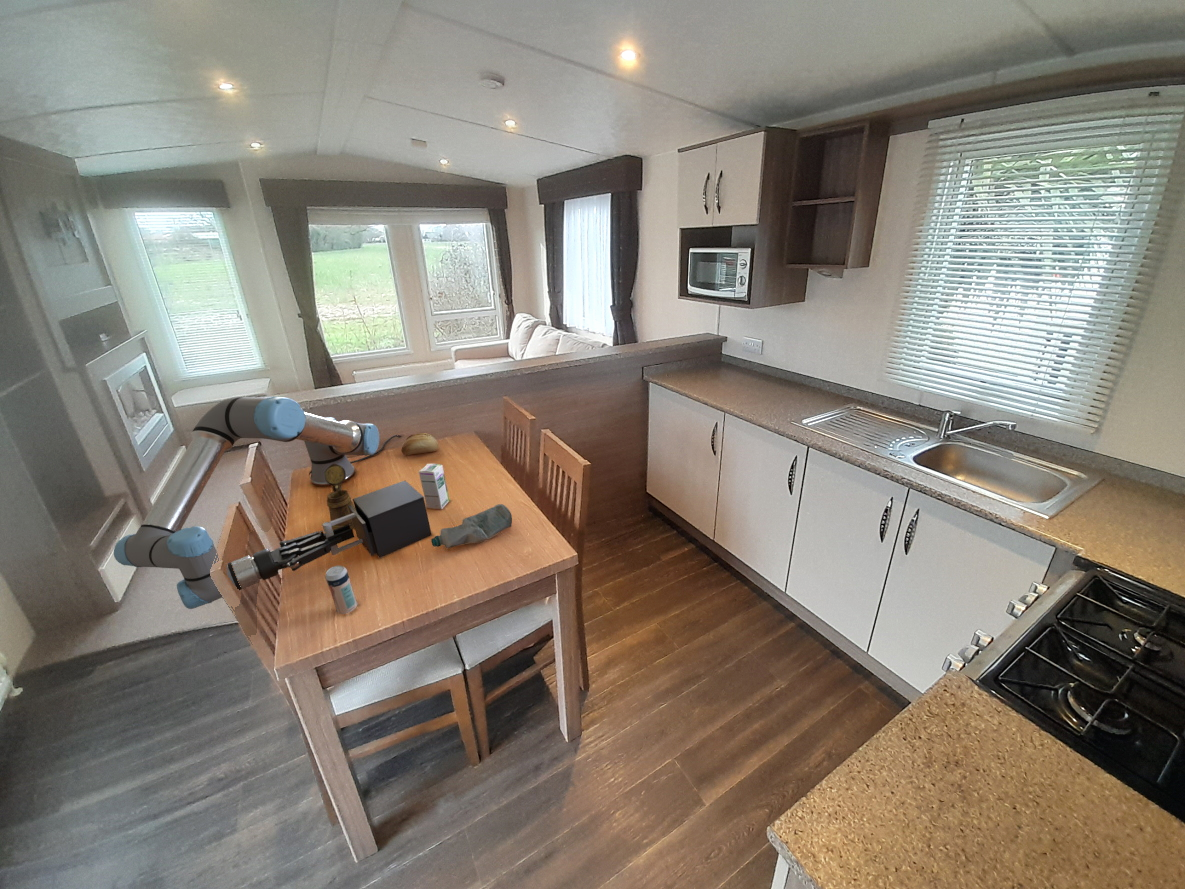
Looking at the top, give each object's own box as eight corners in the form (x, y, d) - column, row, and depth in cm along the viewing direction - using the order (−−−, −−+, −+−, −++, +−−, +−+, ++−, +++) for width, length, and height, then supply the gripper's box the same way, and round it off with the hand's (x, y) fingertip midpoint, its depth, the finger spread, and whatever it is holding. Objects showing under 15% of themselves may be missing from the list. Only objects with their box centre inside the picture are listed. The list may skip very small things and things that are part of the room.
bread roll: (402, 451, 204) (398, 434, 200) (438, 444, 209) (435, 427, 205) (403, 460, 195) (399, 442, 192) (440, 453, 200) (437, 436, 197)
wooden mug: (361, 506, 164) (348, 460, 156) (361, 527, 152) (347, 478, 145) (333, 513, 161) (318, 465, 153) (330, 534, 149) (314, 484, 142)
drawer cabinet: (379, 558, 138) (368, 517, 132) (363, 537, 147) (352, 498, 141) (431, 535, 147) (423, 496, 141) (413, 517, 157) (405, 480, 151)
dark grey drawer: (340, 571, 132) (329, 535, 126) (327, 549, 141) (316, 515, 136) (423, 535, 146) (416, 501, 141) (406, 517, 155) (399, 485, 150)
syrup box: (442, 509, 160) (434, 472, 154) (426, 508, 162) (418, 470, 155) (449, 500, 166) (443, 463, 159) (434, 499, 167) (427, 462, 160)
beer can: (341, 602, 122) (329, 565, 117) (360, 600, 122) (349, 563, 117) (333, 616, 118) (320, 578, 113) (353, 614, 118) (341, 576, 113)
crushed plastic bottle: (501, 513, 157) (426, 539, 144) (500, 495, 154) (423, 520, 141) (520, 534, 148) (440, 564, 135) (519, 516, 144) (437, 545, 132)
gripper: (256, 565, 130) (346, 530, 144) (266, 594, 119) (363, 553, 133) (246, 543, 127) (340, 509, 141) (257, 570, 116) (357, 530, 130)
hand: (351, 530), depth 137 cm, fingers closed on dark grey drawer, 2 cm apart
